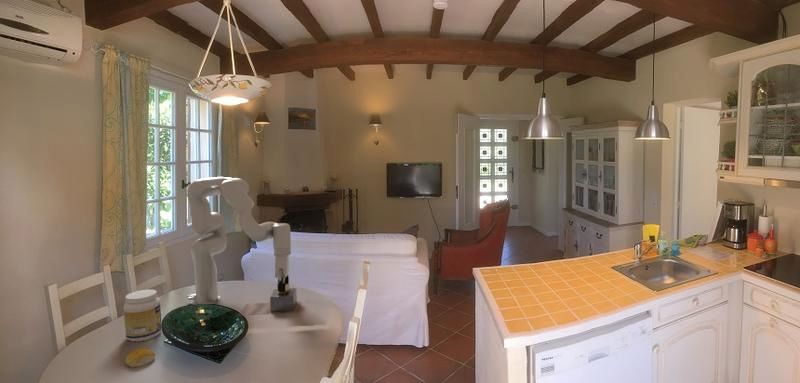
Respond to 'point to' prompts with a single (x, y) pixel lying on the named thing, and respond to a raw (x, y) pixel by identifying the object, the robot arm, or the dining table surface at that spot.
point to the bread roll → (140, 357)
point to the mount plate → (264, 309)
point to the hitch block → (283, 301)
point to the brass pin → (285, 289)
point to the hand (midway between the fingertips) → (283, 288)
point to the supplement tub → (142, 315)
